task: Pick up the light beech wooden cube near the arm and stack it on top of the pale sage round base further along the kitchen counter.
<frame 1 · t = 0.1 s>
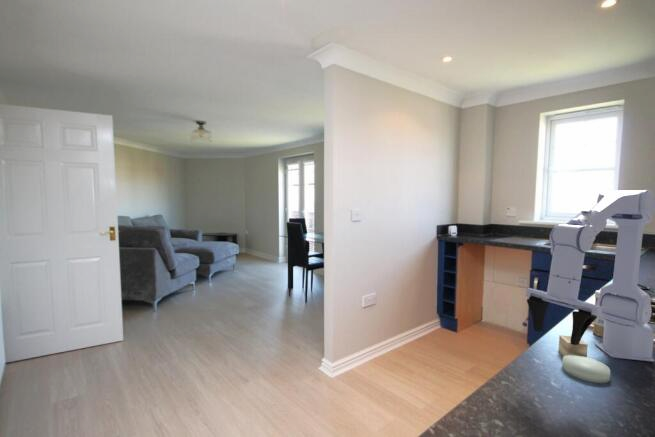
hand: (555, 337, 74), 11 cm above the countertop, tool pointing down, fingers open, 7 cm apart
sprinkles bottle: (601, 335, 100), on the countertop
beech cube: (572, 356, 87), on the countertop
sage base: (585, 372, 79), on the countertop
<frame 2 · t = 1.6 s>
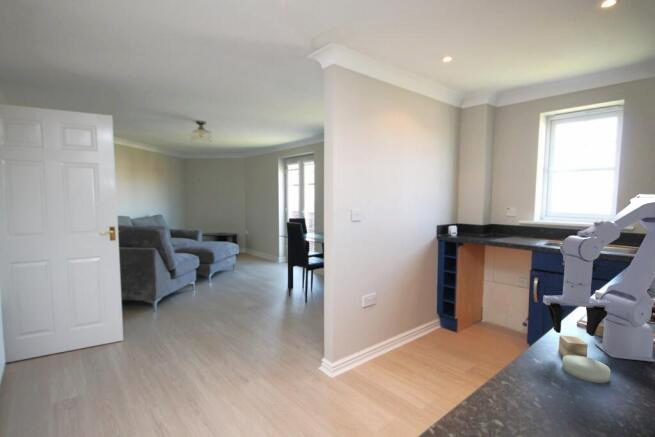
hand: (573, 332, 86), 6 cm above the countertop, tool pointing down, fingers open, 7 cm apart
nothing on the countertop moved.
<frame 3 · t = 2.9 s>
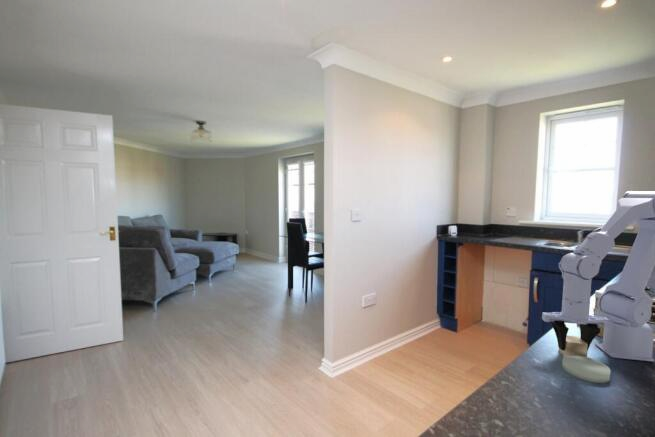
hand: (572, 349, 87), 2 cm above the countertop, tool pointing down, fingers closed on beech cube, 4 cm apart
beech cube: (572, 355, 87), on the countertop, touching gripper
everything else where it was.
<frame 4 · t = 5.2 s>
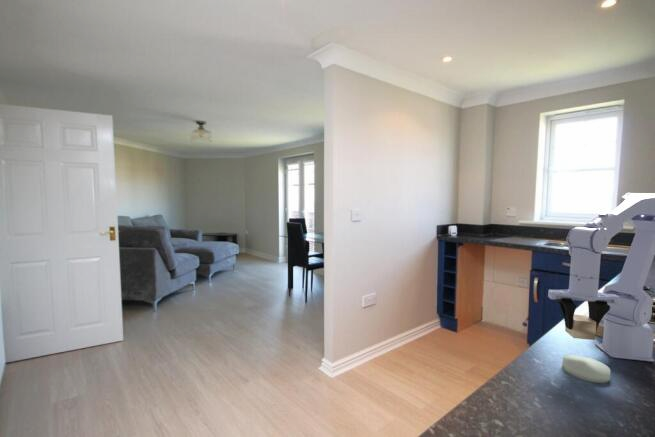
hand: (580, 328, 82), 9 cm above the countertop, tool pointing down, fingers closed on beech cube, 4 cm apart
beech cube: (579, 335, 82), point 7 cm above the countertop, touching gripper
everything else where it was.
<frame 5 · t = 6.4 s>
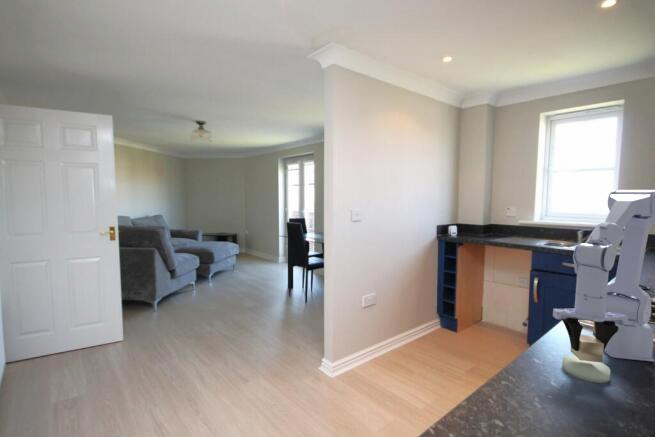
hand: (586, 350, 78), 5 cm above the countertop, tool pointing down, fingers closed on beech cube, 4 cm apart
beech cube: (585, 356, 78), point 4 cm above the countertop, touching gripper
everything else where it was.
when the fingers open (5 cm above the countertop, at t = 7.5 s): beech cube stays where it is, resting on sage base.
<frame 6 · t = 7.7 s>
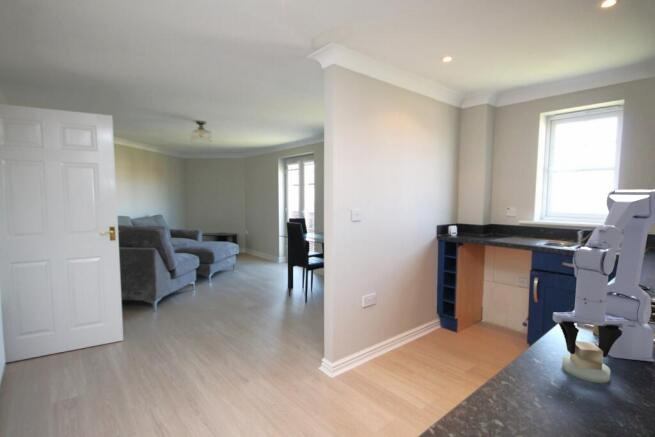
hand: (586, 353, 78), 5 cm above the countertop, tool pointing down, fingers open, 6 cm apart
beech cube: (585, 363, 79), point 2 cm above the countertop, touching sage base
everything else where it was.
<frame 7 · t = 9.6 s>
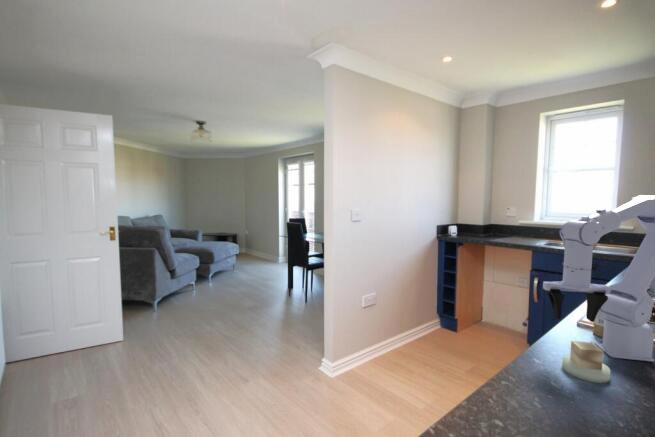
hand: (573, 318, 85), 10 cm above the countertop, tool pointing down, fingers open, 7 cm apart
nothing on the countertop moved.
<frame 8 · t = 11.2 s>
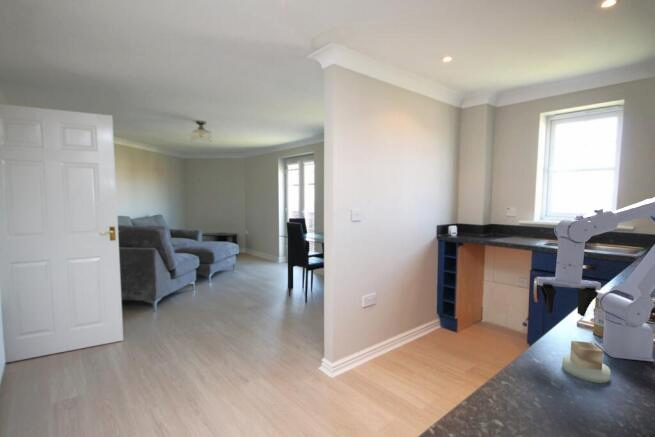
hand: (564, 313, 89), 10 cm above the countertop, tool pointing down, fingers open, 7 cm apart
nothing on the countertop moved.
at the end: beech cube 0.1 cm off-centre on the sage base, point 2.0 cm above the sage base's base; beech cube tilted 0°; beech cube touching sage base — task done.
